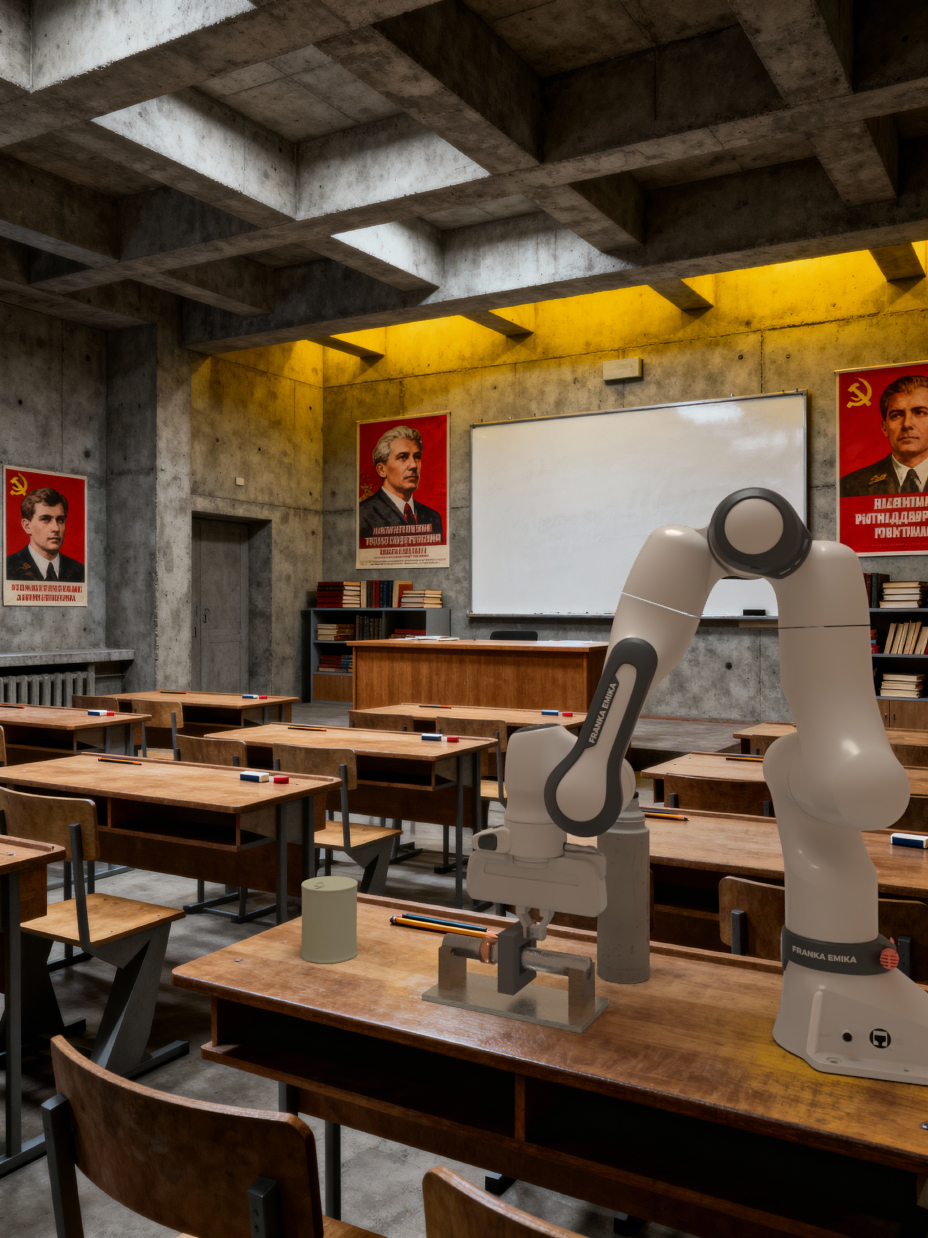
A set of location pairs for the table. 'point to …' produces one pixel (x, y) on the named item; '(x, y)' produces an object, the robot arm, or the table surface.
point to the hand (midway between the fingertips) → (534, 939)
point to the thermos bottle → (625, 899)
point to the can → (329, 919)
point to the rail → (531, 1001)
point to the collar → (513, 960)
